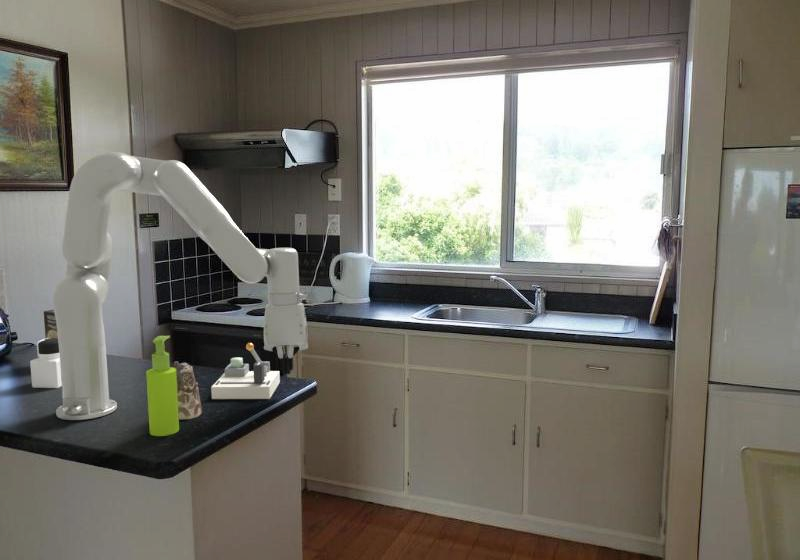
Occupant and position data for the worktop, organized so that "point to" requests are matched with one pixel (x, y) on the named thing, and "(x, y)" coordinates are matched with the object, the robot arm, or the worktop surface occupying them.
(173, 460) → the worktop surface
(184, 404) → the figurine
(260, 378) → the slider knob
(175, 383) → the soap dispenser
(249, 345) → the toggle lever
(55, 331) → the coffee box
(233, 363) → the push button
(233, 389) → the panel
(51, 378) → the medicine bottle
